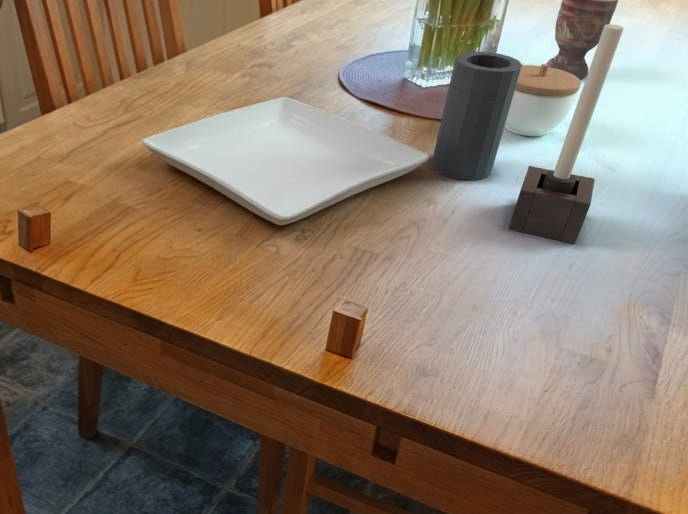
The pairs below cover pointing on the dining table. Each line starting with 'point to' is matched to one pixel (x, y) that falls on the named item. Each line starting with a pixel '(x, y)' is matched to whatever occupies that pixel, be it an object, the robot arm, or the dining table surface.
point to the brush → (584, 112)
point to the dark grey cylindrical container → (475, 114)
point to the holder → (551, 207)
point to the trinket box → (541, 100)
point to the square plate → (284, 157)
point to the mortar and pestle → (579, 32)
